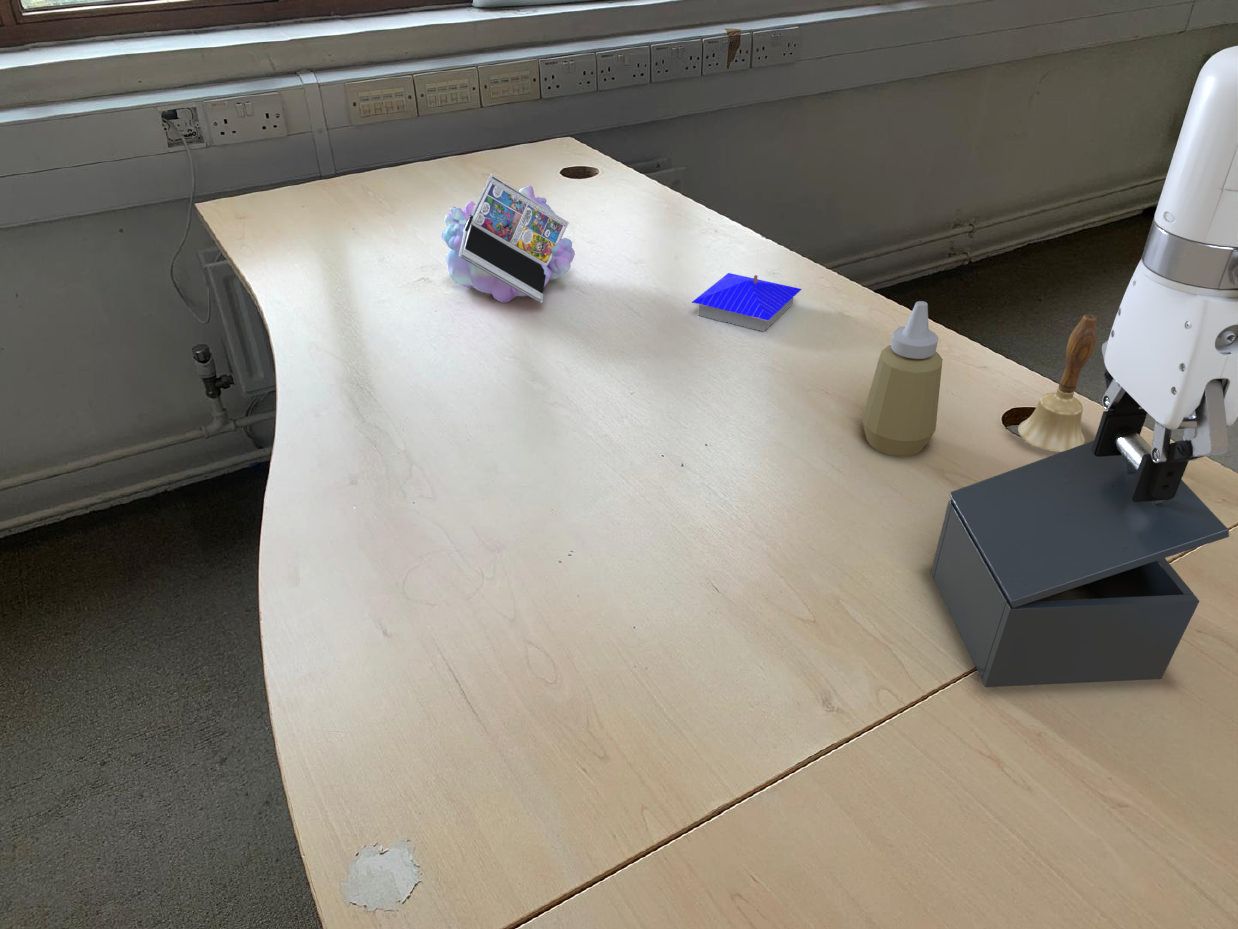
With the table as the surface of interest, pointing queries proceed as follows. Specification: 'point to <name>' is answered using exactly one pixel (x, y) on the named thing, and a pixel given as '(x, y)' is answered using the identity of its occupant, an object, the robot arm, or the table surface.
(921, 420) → the squeeze bottle
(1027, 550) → the bin lid
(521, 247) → the pastel cloud comic display
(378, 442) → the table surface
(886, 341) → the table surface
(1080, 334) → the hand bell
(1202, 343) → the robot arm
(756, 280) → the roof
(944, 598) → the grey storage bin
